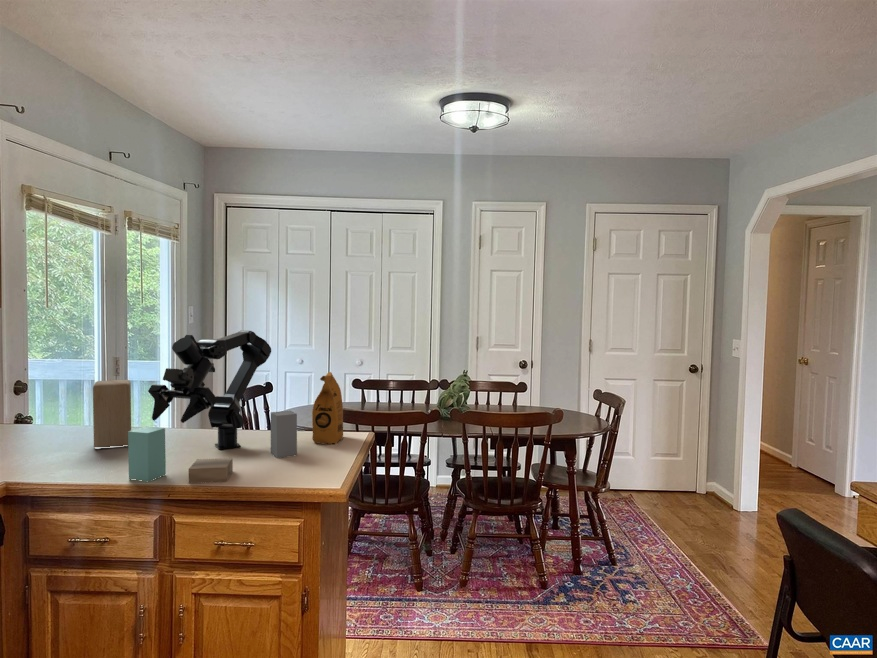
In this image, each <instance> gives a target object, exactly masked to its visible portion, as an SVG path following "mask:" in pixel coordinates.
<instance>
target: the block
mask: <svg viewBox="0 0 877 658" xmlns="http://www.w3.org/2000/svg"><path fill="white" fill-rule="evenodd" d="M131 384H132V383H131V380H129V379H113V380H111V379H110V380H97V381H95V382H94V384H93V387H92V413H93V414H92V415H93V416H92V419H93V420H92V422H93V428H92V429H93V448H94V447H110V446H123V445H128V431H131V430H132V394H131V393H132V390H131V389H132V387H131V386H132V385H131Z"/></svg>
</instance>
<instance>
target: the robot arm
mask: <svg viewBox="0 0 877 658" xmlns="http://www.w3.org/2000/svg"><path fill="white" fill-rule="evenodd" d="M236 348H239V349H240V350H241V351H242V355H241V356H242V360H243V361H242V363H241V365H240V366H239V368H238V370H237V372H236V374H235V376H234V377H233V378H232V381H231V383H230V384H229V386H228V388H227V390H226V391H225V394H224V395H221V396H220V395H218V396H216V395H215V394H214V393H213V391H212V390H211V389H210V387H205V385H206V384H205V382H204V381H205V379H206V377H207V376H208V373H216V368H215V366H214V365H215V363H213V362H211V361H210V360H220V359H222V358H224V357H225V356H226V355H227V353H228V352H229V351H231V350H234V349H236ZM171 349H172V351H173V352H174V354H175V355H176V356H177V358H178V359H179V360H180V361H181V363H182V365H183V364H184V365H186V366H187V367H183V369H181V368H180V369H179V368H170V367H168V368H167V367H166V368H165V371H164V374H163V377H162V380H163V381H166V382H168V383H170V387H171V388H173V389H169V388H168V386H167V385H166V384H158V383H157V384H152V385H151V386H150V387H149V389H148V391H147V392H148V393H149V394H150V396H151V397H152V398H153V401H154V403H153V404H154V405H153V410H152V415H151V419H152V420H153V422H155V421H156V420H157V419H159V417H160V416H161V415H163V413H164V412H165V411H166V410H167V409H168V408H169V407H170V403H172V401H173V399H183V400H189V403H188V404H187V406H186V408H185V410H184V412H183V414H182V416H181V418H180V423H182V424H185V423H186V422H187V421H188V420H190V419H192V418H193V417H195V416H196V415H197V414H200V413H202V412H203V411H204V410H208V409H209V410H208V414H207V415H208V420H209V424H210V426H211V428H215V429H216V428H217V442H216V443H214V446H215V447H216V448H217V449H218V450H228V449H235V448H236V449H237V448H240V447H241V446H242V445H241V444H240V443H239V442H238V429H242V428H243V427H244V424H245V418H244V417H243V416H242V415H241V413H240V412H241V404H240V401H241V400H242V397H244V396H243V395H244V394H245V392H246V389H247V388H248V386H249V384H250V382H251V380H252V378H253V377H254V374H255V373H256V371H257V369H258V368H259V367H260V366H262V365H263V364H265V363H266V362H267V360H268V359H269V358H270V356H271V353H272V348H271V345H270V344H269V343H268V342H267V340H266V339H264V338H262V337H260V336H259V335H257V334H256V332H254V331H252V330H239V331H237V332H235V333H231V334H228V335H226V336H223V337H220V338H213V339H212V338H209V339H207V338H206V339H200V340H198V341H197V340H196V339H195V337H194V335H193V334H185V335H184V337H181V338H180V339H178V340H176V341H174V342H173V344H172V346H171Z"/></svg>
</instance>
